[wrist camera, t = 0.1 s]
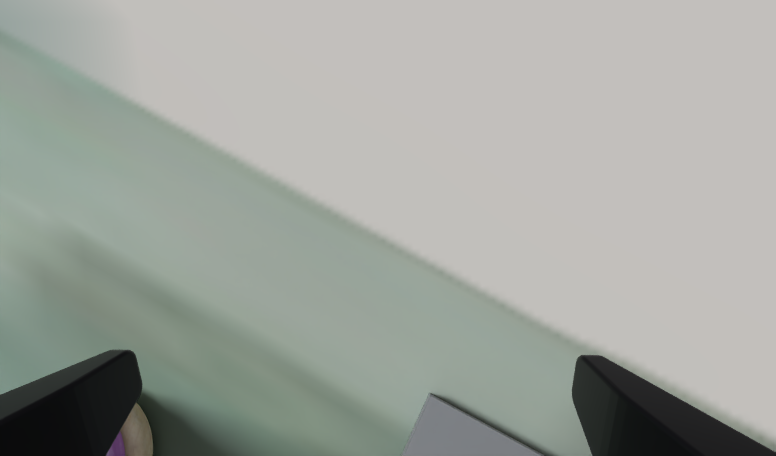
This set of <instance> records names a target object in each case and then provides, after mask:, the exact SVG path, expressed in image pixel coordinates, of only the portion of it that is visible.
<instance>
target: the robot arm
mask: <svg viewBox="0 0 776 456" xmlns="http://www.w3.org/2000/svg"><path fill="white" fill-rule="evenodd" d="M141 391H142V379H141V375H140V371H139V367H138V362H137V358H136V355H135V353H134V352H133V351H131V350H109V351H106V352H104V353H102V354H99V355H97V356H94V357H92V358H89V359H87V360H84V361H82V362H79V363H77V364H75V365H72V366H70V367H67V368H65V369H62V370H60V371H57V372H55V373H53V374H50V375H48V376H45V377H43V378H40V379H38V380H35V381H33V382H31V383H28V384H26V385H23V386H21V387H18V388H16V389H13V390H11V391H9V392H6V393H4V394H1V395H0V456H106V455H107V453H108V451H109V449H110V448H111V446H112V444H113V442H114V441H115V439H116V437H117V435H118V434H119V432H120V430H121V428H122V427H123V425H124V423H125V421H126V420H127V418H128V416H129V414H130V413H131V411H132V409H133V407H134V405H135V404H136V402H137V400H138V398H139V397H140V394H141ZM572 398H573V403H574V406H575V408H576V411H577V414H578V417H579V420H580V422H581V425H582V428H583V431H584V433H585V436H586V439H587V442H588V445H589V447H590V450H591V453H592V456H776V452H774V451H772V450H771V449H769V448H767V447H765V446H763V445H762V444H760V443H758V442H756V441H754V440H753V439H751V438H749V437H747V436H745V435H744V434H742V433H740V432H738V431H736V430H735V429H733V428H731V427H729V426H727V425H726V424H724V423H722V422H720V421H718V420H716V419H715V418H713V417H711V416H709V415H707V414H706V413H704V412H702V411H700V410H698V409H697V408H695V407H693V406H691V405H689V404H688V403H686V402H684V401H682V400H680V399H679V398H677V397H675V396H673V395H671V394H670V393H668V392H666V391H664V390H662V389H660V388H659V387H657V386H655V385H653V384H651V383H650V382H648V381H646V380H644V379H642V378H641V377H639V376H637V375H635V374H633V373H632V372H630V371H628V370H626V369H624V368H623V367H621V366H619V365H617V364H615V363H614V362H612V361H610V360H608V359H606V358H605V357H603V356H599V355H581V356H579V357H578V359H577V361H576V366H575V373H574V380H573V387H572Z"/></svg>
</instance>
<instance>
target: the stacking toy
mask: <svg viewBox="0 0 776 456" xmlns="http://www.w3.org/2000/svg"><path fill="white" fill-rule="evenodd" d="M106 456H153V438H152V432H151V428H150V425H149V422H148V420H147V418H146V415H145V414H144V412H143V411H142V409H141V407H140V406H139V405H138V404H137V403H136V404H135V405H134V407H133V409H132V411H131V413H130V414H129V416H128V418H127V420H126V421H125V423H124V425H123V427H122V428H121V430H120V432H119V434H118V435H117V437H116V439H115V441H114V442H113V444H112V446H111V448H110V449H109V451H108V453H107V455H106Z"/></svg>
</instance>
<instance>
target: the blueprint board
mask: <svg viewBox="0 0 776 456" xmlns="http://www.w3.org/2000/svg"><path fill="white" fill-rule="evenodd" d="M401 456H545V455H543V454H541V453H539V452H537V451H536V450H534V449H532V448H530V447H528V446H526V445H524V444H523V443H521V442H519V441H517V440H515V439H513V438H512V437H510V436H508V435H506V434H504V433H502V432H500V431H499V430H497V429H495V428H493V427H491V426H489V425H487V424H486V423H484V422H482V421H480V420H478V419H476V418H475V417H473V416H471V415H469V414H467V413H465V412H463V411H462V410H460V409H458V408H456V407H454V406H452V405H451V404H449V403H447V402H445V401H443V400H441V399H439V398H438V397H436V396H434V395H432V394H430V393H429V394H428V397H427V399H426V401H425V403H424V406H423V408H422V410H421V412H420V414H419V417H418V419H417V421H416V423H415V426H414V428H413V430H412V432H411V435H410V437H409V439H408V441H407V444H406V446H405V448H404V450H403V452H402V455H401Z"/></svg>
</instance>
